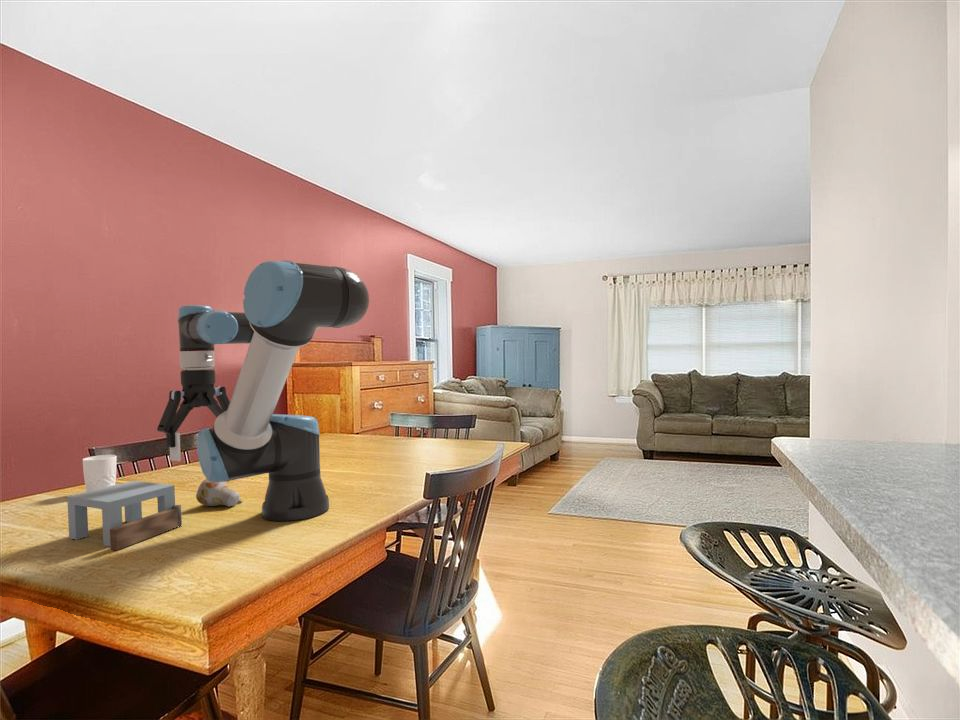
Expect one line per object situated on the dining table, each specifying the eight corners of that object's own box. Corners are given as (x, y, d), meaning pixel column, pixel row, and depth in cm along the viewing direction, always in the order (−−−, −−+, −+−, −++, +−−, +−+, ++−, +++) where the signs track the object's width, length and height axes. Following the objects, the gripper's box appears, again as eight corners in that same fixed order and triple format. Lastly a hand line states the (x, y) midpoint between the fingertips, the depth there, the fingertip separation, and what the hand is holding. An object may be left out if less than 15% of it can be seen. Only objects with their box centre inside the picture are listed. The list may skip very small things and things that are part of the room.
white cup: (123, 490, 152) (121, 456, 152) (91, 497, 146) (89, 461, 146) (110, 487, 157) (108, 453, 157) (78, 494, 150) (77, 458, 150)
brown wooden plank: (177, 525, 119) (176, 504, 119) (183, 525, 119) (182, 505, 119) (110, 550, 105) (109, 526, 105) (117, 551, 104) (116, 527, 104)
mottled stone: (231, 511, 130) (207, 477, 129) (207, 525, 134) (184, 492, 133) (252, 496, 137) (230, 463, 136) (229, 509, 140) (207, 477, 140)
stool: (176, 525, 119) (174, 485, 119) (111, 547, 107) (109, 502, 106) (135, 518, 125) (133, 480, 125) (69, 538, 112) (67, 496, 112)
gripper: (159, 371, 118) (163, 466, 118) (249, 366, 141) (252, 446, 141) (137, 371, 121) (141, 464, 122) (229, 366, 144) (232, 445, 144)
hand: (201, 455), depth 131 cm, fingers open, 13 cm apart
